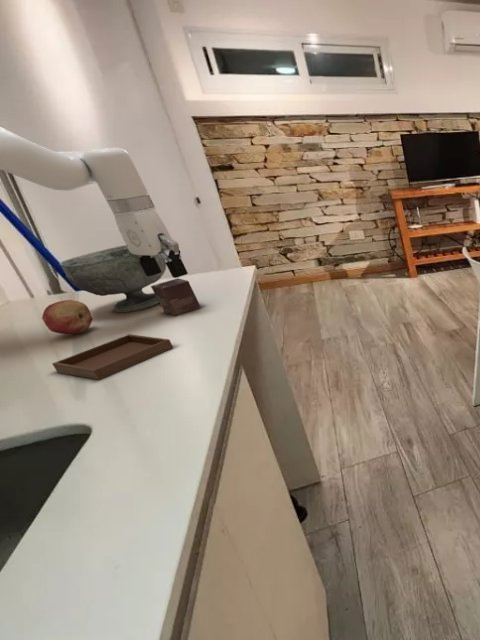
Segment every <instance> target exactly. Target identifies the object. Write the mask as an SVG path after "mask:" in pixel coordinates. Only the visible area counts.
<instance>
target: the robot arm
mask: <svg viewBox="0 0 480 640" xmlns="http://www.w3.org/2000/svg"><path fill="white" fill-rule="evenodd" d="M133 161H134V160H133V158H132V157H131V155H130V153H129V152H128V151H127V150H126V149H124V148H121V147H106V148H104V147H103V148H96V149H89V150H86V151H55V150H52V149H49V148H47V147H45V146H43V145H40V144H38V143H36V142H34V141H31V140H29V139H27V138H25V137H22V136H21V135H18V134H16V133H14V132H13V131H10V130H7V129H6V128H5V127H2V126H0V170H1V171H3V172H6V173H8V174H11V175H12V176H16V177H18V178H21V179H22V180H23V179H24V180H26V181H28V182H31V183H33V184H36V185H39V186H42V187H44V188H47V189H51V190H55V191H59V192H69V191H74V190H77V189H79V188H83V187H85V186H89V185H94V184H97V186H98V188H99V190H100V192H101V194H102V195H103V197H104V199H105V201H106V203H107V206H108V207H109V209H110V210H111V212H112V214H113V217H114V220H115V223H116V226H117V229H118V231H119V233H120V235H121V238H122V239H123V241H124V244H125V246H127V248H128V250H129V251H130V253H132V254H134V255H135V256H136V259H137V260H138V261H139V263H140V265H141V266H142V268H143V270H144V272H145V274H146V276H153V275H156V274H159V273H161V272H162V271H161V269H160V267H159V265H158V263H157V261H156V259H155V257H152V256H153V255H157V254H158V253H159V254H160V255H161V256H162V257H163V258H164V259H165V261H166V262H165V263H166V268H167V269H168V271H169V273H170V275H171V277H172V278H174V279H177V278H180V277H184V276H186V275H188V270H187V269H186V266H185V265H184V262H183V259H182V258H183V257H182V255H181V250H180V247H179V245H180V244H179V243H178V241H176V240H174V239H173V238H172V236H171V234H170V232H169V230H168V228H167V227H166V225H165V223H164V222H163V220H162V218H161V217H160V215H159V214H158V212H157V211H156V206H155V204H154V202H153V200H152V198H151V196H150V194H149V191H148V190H147V188H146V186H145V183H144V182H143V179H142V178H141V175H140V173H139V171H138V170H137V167H136V166H135V163H134V162H133ZM151 257H152V258H151Z"/></svg>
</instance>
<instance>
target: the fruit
mask: <svg viewBox="0 0 480 640" xmlns="http://www.w3.org/2000/svg"><path fill="white" fill-rule="evenodd" d="M41 319H42V321H43V323H44V325H45V327H46V328H47V329H48V330H49V331H51V332H52V333H56V334H61V335H71V336H72V335H78V334H81V333H83V332H85V331H86V330H87V329H89V327H90V326H91V325H92V323H93V317H92V314H91V311H90V309H89V307H88V305H86V304H85V303H83V302H81V301H78V300H74V299H64V300H60V301H56V302H54V303H51V304H48V305H47V306H46V307H45V309H44V311H43V313H42V316H41Z"/></svg>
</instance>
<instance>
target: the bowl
mask: <svg viewBox="0 0 480 640" xmlns="http://www.w3.org/2000/svg"><path fill="white" fill-rule="evenodd" d="M152 257H155V259H156V261H157V263H158V265H159V267H160V269H161V271H162V272H161V273H159V274H156V275H153V276H146V274H145V272H144V270H143V268H142V266H141V265H140V263H139V261H138V260H137V259H136V256H135V255H134V254H132V253H130V251H129V250H128V248H127V246H126V245H118V246H114V247H110V248H104V249H101V250H96V251H93V252H88V253H85V254H81V255H77V256H74V257H71V258H68V259H65V260H62V261H61V262H59V265H60V267H61V269H62V270H63V272H64V274H65V277H66V279H67V280H68V281H69V282H70V283H71V285H73V286H74V287H76V288H78V289H79V290H82V291H84V292H86V293H90V294H93V295H96V296H100V297H106V296H111V295H114V296H115V295H120V294H123V295H124V296H125V298H124V299H121V300H120V301H117V302H116V303H115V304H114V305H113V309H114V311H115V312H118V313H128V312H129V313H130V312H136V311H139V310H143V309H147V308H150V307H152V306H155V305H157V304H160V303H159V301H158V299H157V297H156V295H155V293H154V292H151V293H145V292H144V291H143V289H144V288H147V287H148V286H151V285H153V284H155V283H156V282H158V281H159V280H160V279H161V278H162V277H163V276H164V274H165V272H166V269H167V265H166V263H165V262H167V261H166V260H165V259H164V258H163V257H162V256H161V255H160V254H159V253H158V254H157V255H153V256H152ZM152 257H151V258H152Z"/></svg>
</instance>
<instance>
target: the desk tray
mask: <svg viewBox="0 0 480 640" xmlns="http://www.w3.org/2000/svg"><path fill="white" fill-rule="evenodd" d="M171 349H174V345H173V344H172V342H171V340H170V338H169V339H168V338H161V337H153V336H145V335H138V334H130V333H129V334H126V335H123V336H121V337H118V338H116V339H115V338H114V339H112V340H110V341H107V342H105V343H102V344H99V345H97V346H94V347H92V348H89V349H86V350H84V351H81V352H79V353H76V354H73V355H71V356H68V357H65V358H63V359H60V360H57V361H55V362H53V363H51V364H52V366H53V368H54V369H55V370H56V372H57V373H59V374H65V375H69V376H70V375H71V376H76V377H82V378H87V379H93V380H100V381H101V380H103V379H104V378H107V377H109V376H111V375H113V374H116V373H118V372H121V371H123V370H125V369H127V368H130V367H132V366H134V365H136V364H137V365H138V364H139V363H142V362H143V361H146V360H148V359H151V358H153V357H156V356H157V355H159V354H163V353H164V352H167V351H169V350H171Z"/></svg>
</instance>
